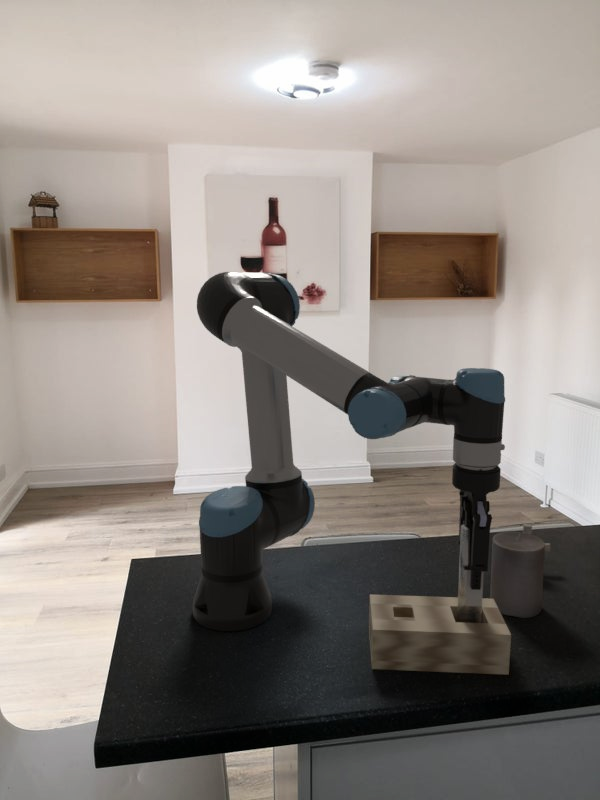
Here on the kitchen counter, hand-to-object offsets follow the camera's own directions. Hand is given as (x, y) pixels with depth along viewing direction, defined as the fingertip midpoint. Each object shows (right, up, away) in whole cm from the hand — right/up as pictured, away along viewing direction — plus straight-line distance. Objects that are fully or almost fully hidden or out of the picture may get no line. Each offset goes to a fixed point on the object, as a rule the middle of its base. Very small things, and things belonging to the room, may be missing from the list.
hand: (470, 597), depth 106 cm
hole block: (-6, -10, +2) cm, 11 cm away
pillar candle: (+13, -7, +18) cm, 24 cm away
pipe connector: (+22, -4, +35) cm, 41 cm away
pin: (0, -6, +1) cm, 6 cm away
